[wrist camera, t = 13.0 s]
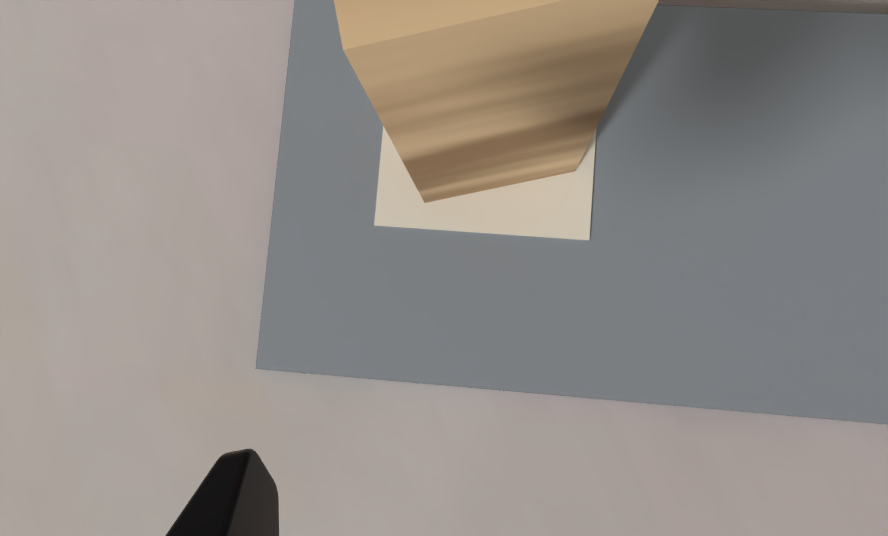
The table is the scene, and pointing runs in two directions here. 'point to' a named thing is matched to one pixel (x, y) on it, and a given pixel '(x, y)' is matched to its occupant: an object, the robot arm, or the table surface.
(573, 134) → the wooden block
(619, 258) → the rubber mat
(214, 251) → the table surface
